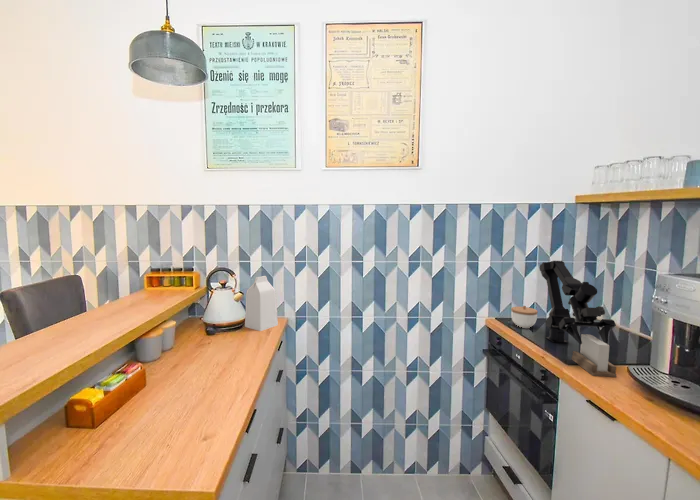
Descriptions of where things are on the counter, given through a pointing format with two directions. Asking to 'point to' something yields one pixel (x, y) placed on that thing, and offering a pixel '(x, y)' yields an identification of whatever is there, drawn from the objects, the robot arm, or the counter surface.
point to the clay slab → (595, 351)
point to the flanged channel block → (593, 366)
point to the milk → (261, 305)
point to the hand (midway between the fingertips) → (593, 344)
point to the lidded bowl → (524, 316)
